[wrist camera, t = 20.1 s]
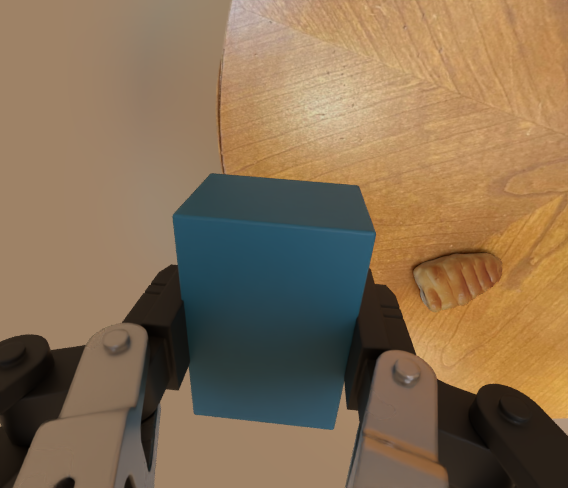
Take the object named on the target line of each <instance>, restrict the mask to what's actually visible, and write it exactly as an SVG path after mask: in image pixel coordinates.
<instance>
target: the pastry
mask: <svg viewBox="0 0 568 488" xmlns="http://www.w3.org/2000/svg"><path fill="white" fill-rule="evenodd" d="M413 274H414V278H415V281H416V283H417V284H418V286H419V288H420V291H421V292H420V296H421V298H422V301H423V302H424V304H425V305H426V306H427V307H428V309H429V310H431V311H432V312H439V311H440V310H446V309H452V308H455V307H457V306H460V305H466V304H468V303H469V302H470V301H471V300H473V299H475V298H476V297H477V296H478V295H480V294H482V293H483V292H485V291H487V290H488V289H489V288H491V287H493V286H494V284H495V283H497V282H498V281H499V280H500V278H501V275H502V261H501V260H500V259H499V258H497V257H495V256H493V255H491V254H489V253H476V254H474V253H470V254H452V255H450V256H444V257H441V258H437V259H435V260H432V261H427V262H424V263H422V264H420V265H419V266H418V267H416V268H415V270H414V272H413Z"/></svg>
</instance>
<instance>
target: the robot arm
mask: <svg viewBox="0 0 568 488" xmlns="http://www.w3.org/2000/svg"><path fill="white" fill-rule="evenodd" d="M189 364H190V356H189V346H188V336H187V327H186V317H185V308H184V301H183V300H181V290H180V281H179V272H178V265H170V266H168V267H167V268H165V269H164V270H162V271H160V272H159V273H158V274H157V276H156V277H155V278H154V280H153V281H152V283H151V285H149V286H148V288H147V289H146V291H145V293H143V295H142V296H141V297H140V299H139V300H138V301H137V303H136V304H135V306H134V307H133V308H132V310H131V311H130V312H129V314H128V315H127V316H126V318H125V319H124V321H123V322H122V323H119V324H115V325H111V326H108V327H106V328H104V329H102V330H100V331H99V332H97V333H96V334H94V335H93V336H92V337H91V338H90V339H89V341H88V342H87V344H86V345H83V346H77V347H71V348H63V349H56V350H50V347H49V344H48V342H47V340H46V339H45V338H43V337H42V336H39V335H20V336H15V337H12V338H9V339H6V340H3V341H1V342H0V423H1V425H2V426H1V427H0V488H154V478H155V466H156V456H157V445H158V434H159V423H160V413H161V406H160V400H161V398H162V396H163V394H164V392H165V390H166V389H170V390H179V388H180V386H181V383H182V381H183V378H184V376H185V373H186V371H187V369H188V366H189ZM344 383H345V393H346V404H347V409H348V410H358V413H359V421H360V423H359V427H358V430H357V434H356V439H355V444H354V448H353V453H352V457H351V462H350V467H349V471H348V476H347V480H346V485H345V488H568V436H567V435H566V434H565V433H564V432H563V431H562V429H561V428H560V427H559V426H558V425H557V424H555V422H554V421H553V420H552V419H551V418H550V417H549V416H548V415H547V414H546V413H545V412H544V411H543V410H542V409H541V407H540V406H539V405H537V404H536V403H535V402H534V401H533V400H532V399H530V398H529V397H528V396H526V395H525V394H523V393H521V392H520V391H518V390H516V389H513V388H511V387H508V386H505V385H500V384H488V385H485V386H483V387H481V388H480V389H479V391H478V393H477V395H476V394H473V393H470V392H467V391H465V390H462V389H459V388H456V387H454V386H451V385H449V384H446V383H444V382H442V381H440V380H438V379H437V377H436V374H435V373H434V371H433V369H432V368H431V367H430V366H429V365H428V364H427V363H426V362H425V361H424V360H423V359H421V358H420V357H418V356H416V353H415V350H414V347H413V344H412V341H411V338H410V336H409V333H408V330H407V327H406V324H405V321H404V319H403V316H402V313H401V310H400V309H399V304H398V301H397V299H396V296H395V295H394V293H393V292H392V291H391V290H390V289H389V288H388V287H387V286H386V285H380V284H375V283H374V280H373V276H372V272H371V269H370V268H369V270H368V274H367V279H366V283H365V288H364V293H363V297H362V302H361V306H360V311H359V316H358V317H357V320H356V325H355V329H354V334H353V339H352V343H351V348H350V352H349V357H348V362H347V366H346V371H345V376H344Z"/></svg>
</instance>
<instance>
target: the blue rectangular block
mask: <svg viewBox="0 0 568 488" xmlns="http://www.w3.org/2000/svg"><path fill="white" fill-rule="evenodd" d="M173 225H174V235H175V244H176V253H177V262H178V272H179V281H180V290H181V300H183V301H184V308H185V317H186V327H187V336H188V346H189V356H190V364H189V372H190V382H191V391H192V400H193V410H194V414H195V415H204V416H212V417H221V418H230V419H240V420H248V421H258V422H266V423H275V424H284V425H293V426H302V427H311V428H320V429H329V430H333V429H334V426H335V422H336V417H337V412H338V408H339V403H340V399H341V394H342V389H343V385H344V376H345V371H346V366H347V362H348V357H349V352H350V348H351V343H352V339H353V334H354V329H355V325H356V320H357V317H358V316H359V311H360V306H361V302H362V297H363V293H364V288H365V283H366V279H367V274H368V270H369V265H370V260H371V256H372V251H373V246H374V242H375V237H376V232H375V229H374V227H373V224H372V221H371V218H370V216H369V213H368V210H367V207H366V205H365V202H364V199H363V196H362V194H361V191H360V188H359V186H357V185H346V184H334V183H322V182H310V181H298V180H286V179H274V178H262V177H250V176H238V175H226V174H214V173H212V174H210V175H209V176H208V177H207V178H206V179H205V180H204V182H203V183H202V184H201V185H200V186H199V187H198V188H197V189H196V190H195V191H194V192H193V194H191V196H190V197H189V198H188V199H187V200H186V201H185V202H184V203H183V204H182V205H181V206H180V208H178V210H177V211H176V212H175V213H174V214H173Z"/></svg>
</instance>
